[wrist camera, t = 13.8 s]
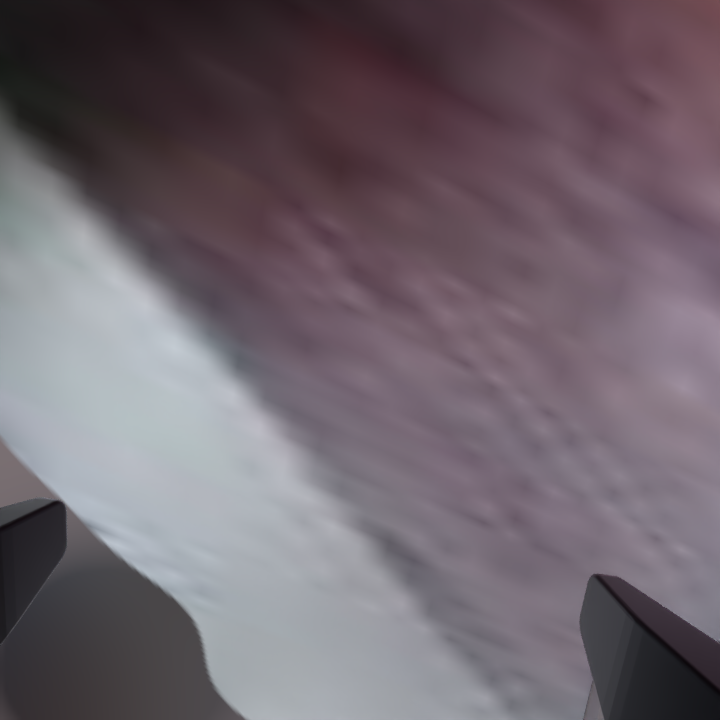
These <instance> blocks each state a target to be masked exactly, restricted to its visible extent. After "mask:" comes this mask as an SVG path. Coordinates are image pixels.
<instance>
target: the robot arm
mask: <svg viewBox="0 0 720 720" xmlns="http://www.w3.org/2000/svg"><path fill="white" fill-rule="evenodd" d="M66 547H67V512H66V506H65V503H64V502H63V501H61V500H57V499H50V498H42V497H39V498H35V499H31V500H27V501H23V502H20V503H16V504H12V505H9V506H5V507H1V508H0V646H1V644H2V643H3V642H4V641H5V639H6V638H7V637H8V635H9V634H10V633H11V631H12V630H13V628H14V627H15V626H16V624H17V623H18V621H19V620H20V618H21V617H22V616H23V614H24V613H25V611H26V610H27V609H28V607H29V606H30V604H31V603H32V601H33V600H34V598H35V597H36V596H37V594H38V593H39V591H40V590H41V588H42V587H43V585H44V584H45V583H46V581H47V580H48V578H49V577H50V575H51V574H52V572H53V571H54V569H55V568H56V566H57V565H58V564H59V562H60V561H61V559H62V558H63V556H64V553H65V551H66ZM580 631H581V636H582V639H583V643H584V647H585V651H586V654H587V658H588V662H589V666H590V670H591V673H592V677H593V681H594V685H595V689H596V692H597V696H598V700H599V704H600V707H601V711H602V715H603V718H604V720H720V644H719V643H718V642H716V641H715V640H713V639H712V638H710V637H709V636H707V635H706V634H704V633H703V632H701V631H700V630H698V629H697V628H695V627H694V626H692V625H691V624H689V623H688V622H686V621H685V620H683V619H682V618H680V617H679V616H677V615H676V614H674V613H673V612H671V611H670V610H668V609H667V608H665V607H663V606H662V605H660V604H659V603H657V602H656V601H654V600H653V599H651V598H650V597H648V596H647V595H645V594H644V593H642V592H641V591H639V590H638V589H636V588H635V587H633V586H632V585H630V584H629V583H627V582H626V581H624V580H623V579H621V578H619V577H617V576H611V575H604V574H593V575H592V576H591V577H590V579H589V581H588V584H587V588H586V593H585V597H584V601H583V606H582V610H581V614H580Z"/></svg>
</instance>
